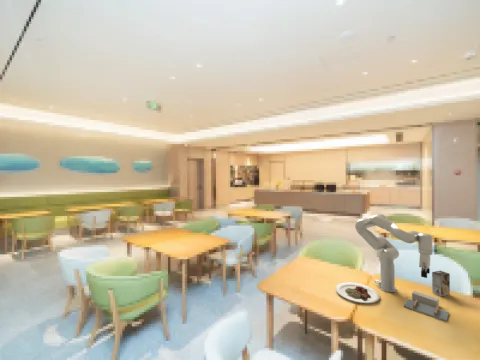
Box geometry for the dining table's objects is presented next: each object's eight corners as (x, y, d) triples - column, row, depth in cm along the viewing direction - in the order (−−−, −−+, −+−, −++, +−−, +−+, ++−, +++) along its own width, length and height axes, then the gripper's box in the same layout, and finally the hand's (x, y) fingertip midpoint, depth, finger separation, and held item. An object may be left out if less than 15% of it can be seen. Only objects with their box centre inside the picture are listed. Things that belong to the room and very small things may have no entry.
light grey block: (412, 299, 165) (412, 293, 165) (414, 297, 168) (414, 290, 168) (437, 308, 154) (437, 301, 154) (438, 305, 157) (438, 298, 157)
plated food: (334, 299, 168) (333, 294, 168) (337, 281, 194) (337, 277, 194) (381, 309, 154) (381, 304, 154) (378, 289, 181) (377, 285, 180)
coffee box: (440, 290, 176) (440, 270, 176) (450, 294, 170) (450, 273, 169) (431, 292, 174) (431, 271, 173) (441, 296, 167) (441, 275, 167)
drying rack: (403, 306, 156) (403, 302, 156) (407, 300, 164) (407, 296, 164) (446, 321, 140) (446, 317, 140) (448, 313, 148) (449, 309, 148)
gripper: (421, 247, 168) (421, 269, 169) (415, 253, 157) (416, 277, 157) (434, 249, 163) (434, 272, 163) (429, 255, 151) (430, 280, 152)
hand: (425, 275), depth 160 cm, fingers open, 9 cm apart
